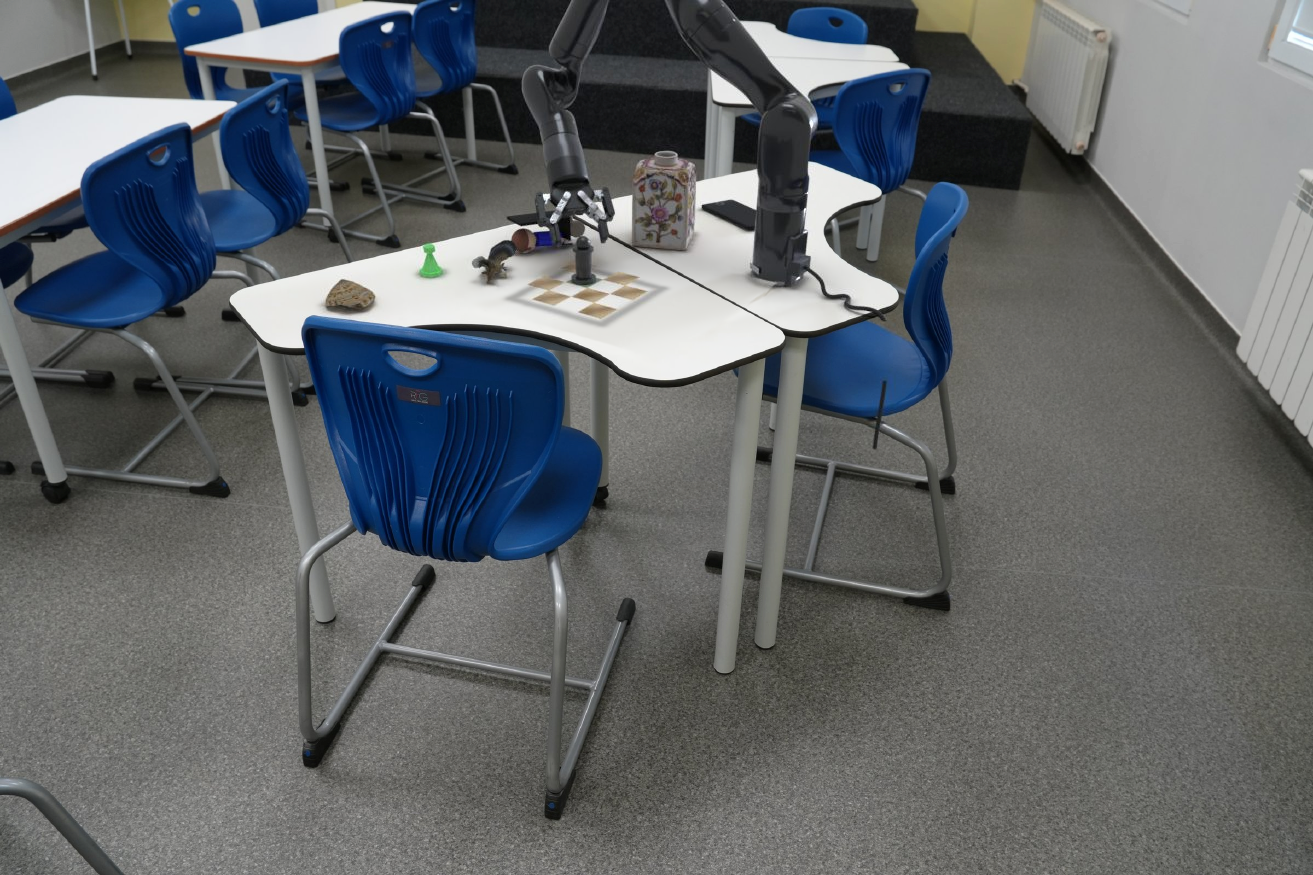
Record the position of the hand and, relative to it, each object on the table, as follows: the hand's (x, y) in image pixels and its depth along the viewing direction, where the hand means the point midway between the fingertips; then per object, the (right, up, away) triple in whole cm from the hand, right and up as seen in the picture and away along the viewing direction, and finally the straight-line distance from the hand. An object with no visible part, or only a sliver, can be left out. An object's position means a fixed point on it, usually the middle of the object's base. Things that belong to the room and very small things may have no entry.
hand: (581, 243), depth 179 cm
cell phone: (+32, +14, +40) cm, 53 cm away
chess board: (+1, -9, 0) cm, 9 cm away
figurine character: (-9, +3, +20) cm, 22 cm away
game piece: (-29, -5, +7) cm, 30 cm away
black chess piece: (0, -6, +2) cm, 7 cm away
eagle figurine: (-17, -5, +6) cm, 19 cm away
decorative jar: (+15, +6, +26) cm, 31 cm away
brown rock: (-40, -12, -7) cm, 42 cm away
